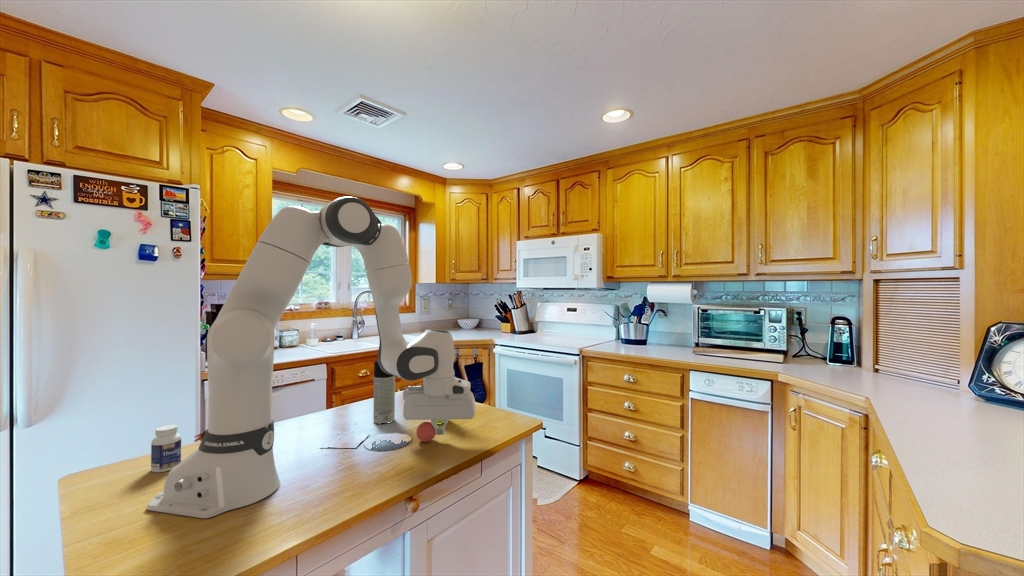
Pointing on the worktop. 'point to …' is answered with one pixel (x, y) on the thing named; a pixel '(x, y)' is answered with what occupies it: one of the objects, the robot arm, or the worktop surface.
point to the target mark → (387, 445)
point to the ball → (425, 432)
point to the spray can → (383, 396)
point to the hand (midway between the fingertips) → (440, 434)
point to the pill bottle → (165, 449)
